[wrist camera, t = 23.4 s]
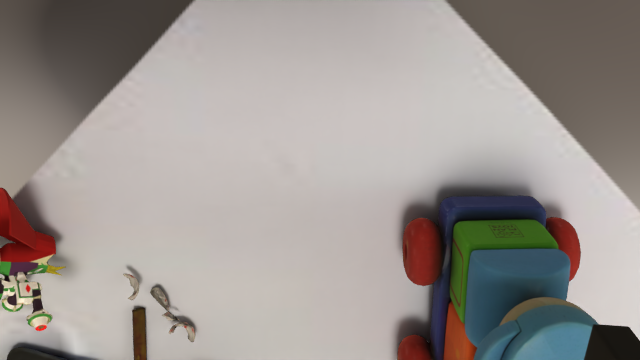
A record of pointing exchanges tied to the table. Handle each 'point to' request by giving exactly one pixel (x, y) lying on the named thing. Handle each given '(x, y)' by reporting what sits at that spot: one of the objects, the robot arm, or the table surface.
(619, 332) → the robot arm
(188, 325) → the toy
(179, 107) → the table surface
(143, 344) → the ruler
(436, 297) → the toy train
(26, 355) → the game console
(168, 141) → the table surface
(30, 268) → the action figure
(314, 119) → the table surface
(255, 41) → the table surface
